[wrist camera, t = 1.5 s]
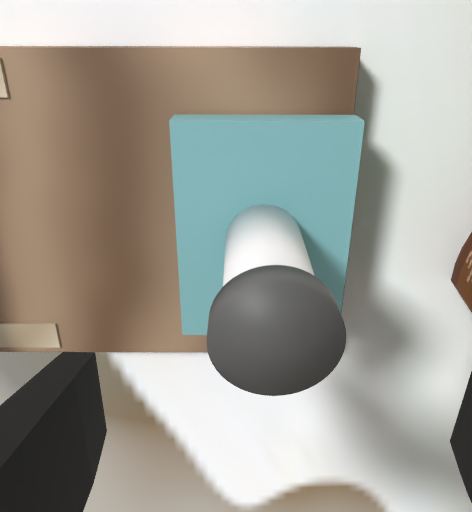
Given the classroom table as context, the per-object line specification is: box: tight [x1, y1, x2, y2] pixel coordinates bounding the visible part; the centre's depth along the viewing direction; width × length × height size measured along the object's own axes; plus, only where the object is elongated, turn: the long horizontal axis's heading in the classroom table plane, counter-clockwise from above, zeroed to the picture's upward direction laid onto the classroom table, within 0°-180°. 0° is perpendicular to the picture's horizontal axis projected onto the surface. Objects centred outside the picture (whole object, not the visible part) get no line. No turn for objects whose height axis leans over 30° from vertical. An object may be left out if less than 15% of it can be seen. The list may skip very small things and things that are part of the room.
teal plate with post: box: [169, 114, 365, 396], centre depth 14 cm, size 6×8×7 cm
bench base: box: [0, 46, 361, 352], centre depth 16 cm, size 18×12×6 cm, turn 90°
